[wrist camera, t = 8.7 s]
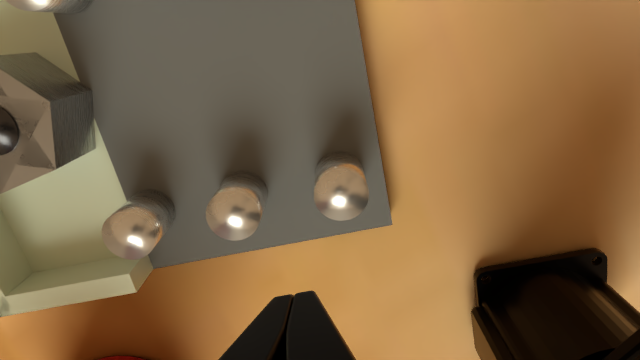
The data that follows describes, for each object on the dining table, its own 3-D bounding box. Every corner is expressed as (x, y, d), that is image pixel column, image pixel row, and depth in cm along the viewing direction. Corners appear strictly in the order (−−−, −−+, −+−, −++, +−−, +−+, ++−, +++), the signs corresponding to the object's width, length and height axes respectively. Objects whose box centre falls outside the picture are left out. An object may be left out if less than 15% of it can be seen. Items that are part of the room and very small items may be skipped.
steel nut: (62, 39, 17) (10, 41, 15) (120, 137, 19) (83, 157, 16) (-40, 89, 18) (-109, 100, 15) (24, 180, 20) (-28, 206, 17)
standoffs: (311, -111, 16) (308, -137, 13) (367, 191, 20) (373, 215, 17) (29, -41, 16) (-23, -53, 14) (138, 235, 20) (113, 263, 18)
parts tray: (27, -90, 17) (-33, -114, 14) (160, 258, 22) (136, 292, 19) (-131, -49, 17) (-220, -64, 14) (35, 281, 22) (-6, 318, 20)
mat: (324, -166, 16) (324, -179, 15) (389, 215, 21) (392, 224, 20) (27, -90, 17) (9, -97, 16) (160, 258, 22) (153, 268, 21)
